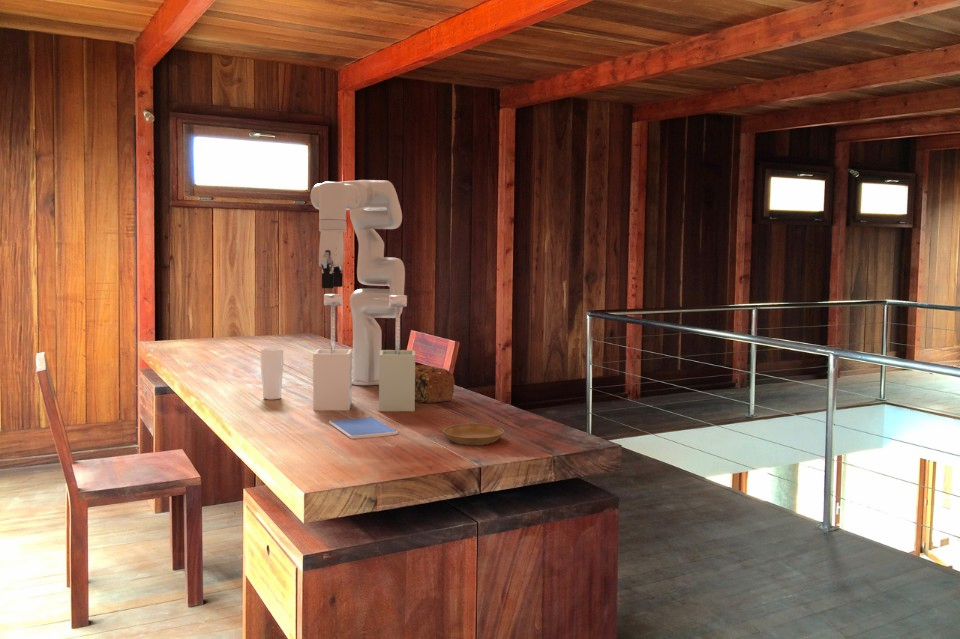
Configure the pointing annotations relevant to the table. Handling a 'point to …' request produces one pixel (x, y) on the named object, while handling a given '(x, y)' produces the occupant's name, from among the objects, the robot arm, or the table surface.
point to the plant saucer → (473, 433)
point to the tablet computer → (362, 427)
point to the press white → (332, 379)
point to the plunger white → (332, 314)
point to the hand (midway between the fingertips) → (332, 287)
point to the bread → (433, 384)
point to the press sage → (397, 380)
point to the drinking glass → (272, 372)
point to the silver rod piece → (397, 316)
